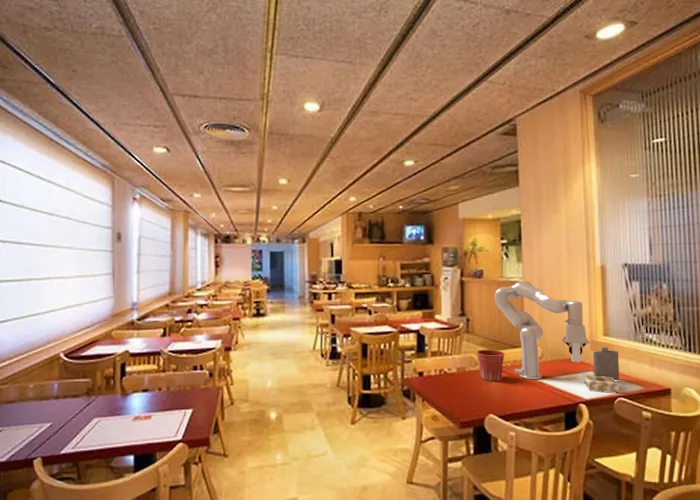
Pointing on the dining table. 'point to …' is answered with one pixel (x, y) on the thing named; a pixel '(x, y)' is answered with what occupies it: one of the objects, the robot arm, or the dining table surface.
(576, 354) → the light grey tall block
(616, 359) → the hip flask
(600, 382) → the birch block
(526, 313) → the robot arm
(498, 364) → the flower pot
